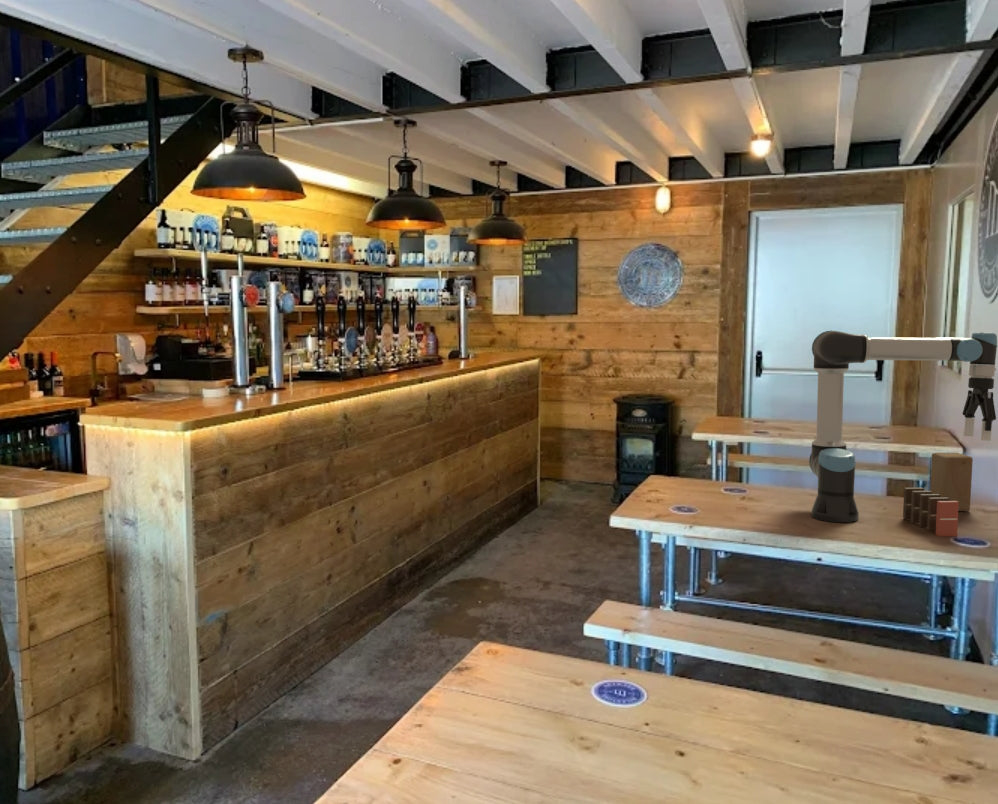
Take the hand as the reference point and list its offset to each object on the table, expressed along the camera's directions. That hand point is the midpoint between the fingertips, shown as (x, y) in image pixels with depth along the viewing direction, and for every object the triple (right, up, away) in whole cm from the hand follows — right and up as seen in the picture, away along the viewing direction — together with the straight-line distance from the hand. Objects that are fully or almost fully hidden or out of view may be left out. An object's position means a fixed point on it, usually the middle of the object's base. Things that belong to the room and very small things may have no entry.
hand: (976, 438), depth 274 cm
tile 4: (-24, -29, -18) cm, 42 cm away
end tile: (-24, -30, -23) cm, 44 cm away
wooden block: (-3, -26, +12) cm, 29 cm away
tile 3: (-24, -29, -13) cm, 39 cm away
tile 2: (-24, -28, -8) cm, 38 cm away
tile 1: (-24, -28, -3) cm, 37 cm away
